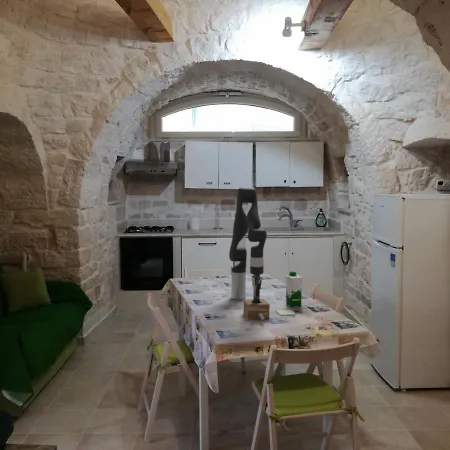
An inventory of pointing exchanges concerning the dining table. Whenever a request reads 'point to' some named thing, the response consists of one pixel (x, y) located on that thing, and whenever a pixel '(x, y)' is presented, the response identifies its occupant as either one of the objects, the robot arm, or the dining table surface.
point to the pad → (285, 312)
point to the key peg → (255, 299)
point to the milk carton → (293, 289)
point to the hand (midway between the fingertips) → (256, 295)
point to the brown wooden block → (256, 309)
